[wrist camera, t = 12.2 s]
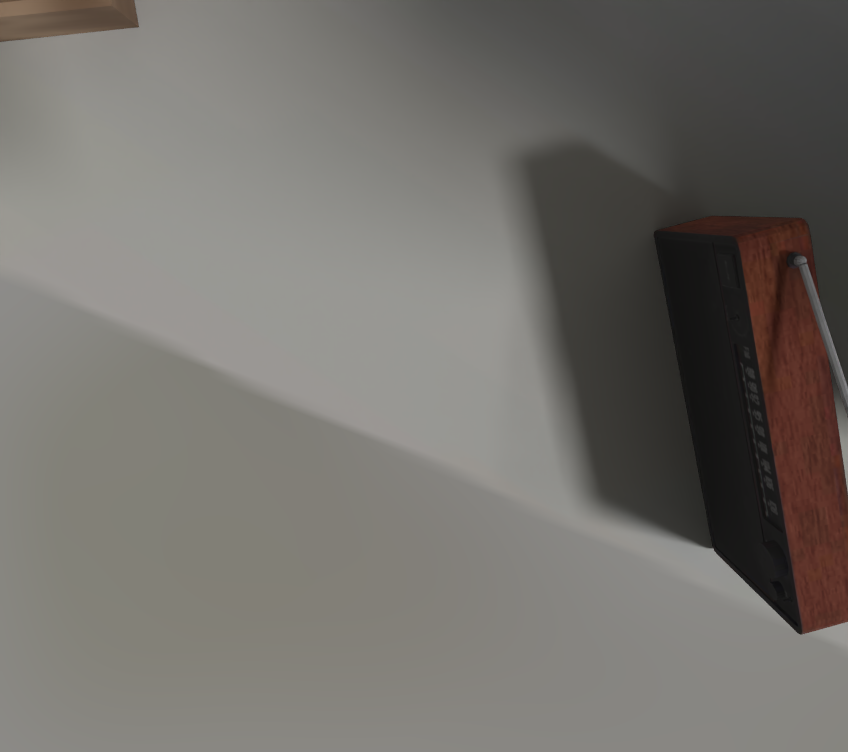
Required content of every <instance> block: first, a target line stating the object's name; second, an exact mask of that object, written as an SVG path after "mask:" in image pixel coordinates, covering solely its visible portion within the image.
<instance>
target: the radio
mask: <svg viewBox="0 0 848 752" xmlns="http://www.w3.org/2000/svg"><path fill="white" fill-rule="evenodd" d="M654 238H655V243H656V248H657V254H658V259H659V264H660V269H661V275H662V280H663V285H664V291H665V296H666V301H667V307H668V312H669V317H670V323H671V328H672V333H673V339H674V344H675V349H676V355H677V360H678V365H679V370H680V376H681V381H682V386H683V392H684V397H685V402H686V408H687V413H688V418H689V424H690V429H691V434H692V440H693V445H694V450H695V456H696V461H697V466H698V472H699V477H700V482H701V487H702V493H703V498H704V503H705V509H706V514H707V519H708V525H709V530H710V535H711V541H712V546H713V548H714V551H715V552H716V553H717V554H718V555H719V556H720V557H721V558H722V559H723V560H724V561H725V562H726V563H727V564H728V565H729V566H730V567H731V568H732V569H733V570H734V571H735V572H736V573H737V574H738V575H739V576H740V577H741V578H742V579H743V580H744V581H745V582H746V583H747V584H748V585H749V586H750V587H751V588H752V589H753V590H754V591H755V592H756V593H757V594H758V595H759V596H760V597H761V598H763V599H764V600H765V601H766V602H767V603H768V604H769V605H770V606H771V607H772V608H773V609H774V610H775V611H776V612H777V613H778V614H779V615H780V616H781V617H782V618H783V619H784V620H785V621H786V622H787V623H788V624H789V625H790V626H791V627H792V628H793V629H794V630H795V631H796V632H797V633H799V634H805V633H809V632H812V631H816V630H819V629H823V628H827V627H830V626H834V625H837V624H841V623H845V622H848V492H847V485H846V478H845V472H844V465H843V458H842V451H841V444H840V437H839V430H838V423H837V416H836V409H835V402H834V395H833V388H832V381H831V374H830V367H829V361H830V364H831V367H832V370H833V373H834V376H835V379H836V383H837V386H838V389H839V392H840V395H841V398H842V401H843V404H844V407H845V410H846V413H847V416H848V387H847V383H846V380H845V377H844V374H843V371H842V368H841V365H840V362H839V359H838V356H837V353H836V350H835V347H834V344H833V341H832V338H831V335H830V332H829V329H828V325H827V322H826V319H825V316H824V313H823V310H822V307H821V304H820V298H819V291H818V284H817V277H816V270H815V263H814V256H813V249H812V242H811V236H810V230H809V226H808V224H807V222H806V221H805V219H802V218H786V217H742V216H709V217H705V218H702V219H698V220H694V221H690V222H687V223H683V224H679V225H675V226H672V227H668V228H664V229H660V230H657V231H655V232H654ZM828 358H829V360H828Z"/></svg>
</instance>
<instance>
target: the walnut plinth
mask: <svg viewBox="0 0 848 752" xmlns="http://www.w3.org/2000/svg"><path fill="white" fill-rule="evenodd" d="M134 27H139V25H138V20H137V14H136V9H135V3H134V0H0V42H2V41H12V40H21V39H30V38H40V37H49V36H59V35H68V34H77V33H87V32H96V31H106V30H115V29H124V28H134Z"/></svg>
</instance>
